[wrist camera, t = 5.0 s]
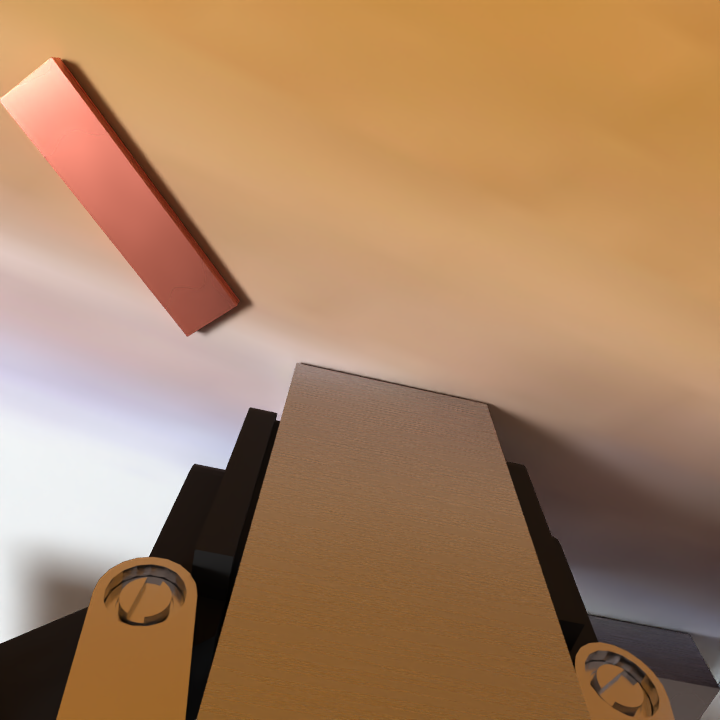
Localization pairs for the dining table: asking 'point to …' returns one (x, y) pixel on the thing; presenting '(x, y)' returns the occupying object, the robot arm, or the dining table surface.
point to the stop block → (388, 571)
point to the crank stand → (214, 298)
